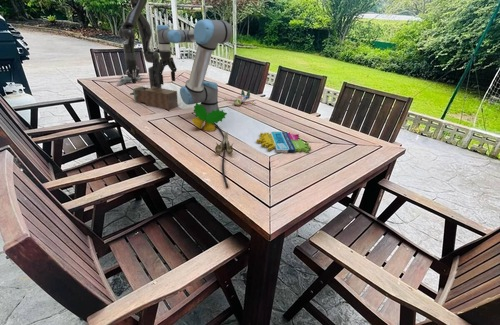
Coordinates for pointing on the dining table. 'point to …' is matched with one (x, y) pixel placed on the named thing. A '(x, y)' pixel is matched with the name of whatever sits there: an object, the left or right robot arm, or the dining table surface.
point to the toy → (241, 99)
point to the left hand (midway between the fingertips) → (134, 83)
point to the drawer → (139, 94)
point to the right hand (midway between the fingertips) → (167, 82)
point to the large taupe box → (161, 98)
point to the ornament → (207, 117)
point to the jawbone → (224, 145)
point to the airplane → (128, 79)
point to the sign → (283, 142)
